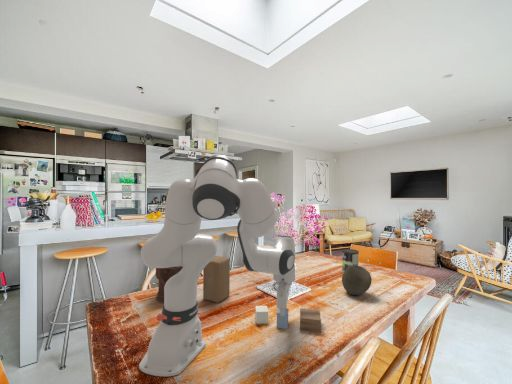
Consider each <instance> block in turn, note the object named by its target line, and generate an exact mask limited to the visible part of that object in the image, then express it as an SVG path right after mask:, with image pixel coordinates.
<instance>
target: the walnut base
mask: <svg viewBox="0 0 512 384" xmlns="http://www.w3.org/2000/svg"><path fill="white" fill-rule="evenodd" d="M321 330H322V317H321V311H320V309H310V308H302V307H300V309H299V331H304V332H313V333H322V331H321Z"/></svg>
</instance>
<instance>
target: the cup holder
mask: <svg viewBox="0 0 512 384" xmlns="http://www.w3.org/2000/svg"><path fill="white" fill-rule="evenodd" d="M182 268H183V266H179V267H169V268H155V277H156V279H157V280H158V291H157V294H156V296H155V301H156V302H157V303H159V304H161V305H164V287H165V284H166V282H167V281H168V280H169V279H170V278H171V277H172V276H174V275H176V274H177V273H179V272H180V271H181V269H182Z"/></svg>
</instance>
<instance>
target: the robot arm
mask: <svg viewBox="0 0 512 384" xmlns="http://www.w3.org/2000/svg"><path fill="white" fill-rule="evenodd" d="M237 173H238V171H237V167H236V164H235V162H234V160H232V159H231V158H230V157H229V156H227V155H224V154H222V153H221V154H214V155H211V156H209V157H208V158H207V159H206V160H205V161H204V162H203V163H202V164H201V166H200V167H198V168H197V170H196V171H195V175H196V176H195V177H194V178H179V179H176V180H174V181H173V182H172V183H171V184H170V186H169V188H168V191H167V195H166V200H165V207H164V208H165V209H164V223H163V226H162V229H161V230H160V231H158V233H156V234H155V235H154V236H152V237H150V238H148V239H146V240H145V242H144V243H143V244H142V246H141V248H140V259H141V261H142V263H143V265H144V266H146V267H147V268H152V269H153V268H154V269H156V268H169V267H179V266H183V268H182V269H181V271H180V272H179V273H177V274H176V275H174V276H172V277H171V278H170V279H169V280H168V281H167V282H166V284H165V287H164V304H163V307H162V310H161V313H158V314H157V315H156V321H159V323H158V326H157V327H156V330H155V331H154V333H153V336H152V337H151V339H150V341H149V344H148V347H147V352H146V353H145V354H144V356H143V357H142V359H141V361H140V362H139V364H138V369H139V370H140V371H141V372H143V374H146V375H150V376H155V377H173V376H177V375H180V374H181V373H182V372H183V371H184V370H185V369H186V368H187V367H188V365H189V364H190V363H191V362H192V361H193V360H194V359H195V358H196V357H197V356H198V355H199V354H200V353H201V352H202V351H203V350H204V348H206V345H207V343H206V341H205V340H204V339H203V333H202V332H203V331H202V321H201V319H200V318H199V316H198V312H199V304H198V299H197V295H198V283H199V278H200V276H201V273H203V269H204V268H205V266H206V265H207V264H208V263H209V262H211V261H212V260H213V259H214V257H215V256H217V252H218V244H217V241H216V240H215V237H213V236H212V235H211V234H206V233H199V232H200V230H201V224H202V219H204V220H209V221H218V220H223V219H226V218H227V217H231V216H234V215H235V214H236V213H237V214H238V216H239V220H238V223H237V227H236V231H237V237H238V241H239V244H240V250H241V253H242V262H243V265H244V267H245V268H246V270H248V272H257V273H265V274H270V275H272V277H273V278H272V279H273V281H275V283H276V285H277V288H276V289H277V290H276V309H278V308H279V309H280V315H281V316H285V309H286V308H287V306H288V300H289V297H290V296H289V295H290V290H291V286H292V285H293V283H294V282H295V281H296V265H295V260H296V245H295V240H294V239H295V238H294V237H293V236H290V235H282V234H281V235H280V234H278V235H276V236H274V240H273V246H267V245H266V246H265V245H259V244H257V243H256V242H255V239H256V238H257V239H258V238H262V237H264V236H267V235H268V234H269V233H270V232H271V231H272V230H273V229H274V227H275V226H276V224H277V223H276V222H277V211H276V209H275V205H274V202H273V200H272V197H271V195H270V193H269V192H268V190H267V188H266V186H265V185H264V183H263V182H262V181H261V180H259V179H258V178H255V177H247V178H244V179H239V178H237Z"/></svg>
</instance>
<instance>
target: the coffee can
mask: <svg viewBox="0 0 512 384" xmlns="http://www.w3.org/2000/svg"><path fill="white" fill-rule="evenodd" d="M359 254H360V251H359V250H357V249H353V248H343V249H342V269H341V271H342V272H343V273H344V271H345V270H346V269H347V268H348V267H349V266H353V265H358V266H359V259H360V257H359Z"/></svg>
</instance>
